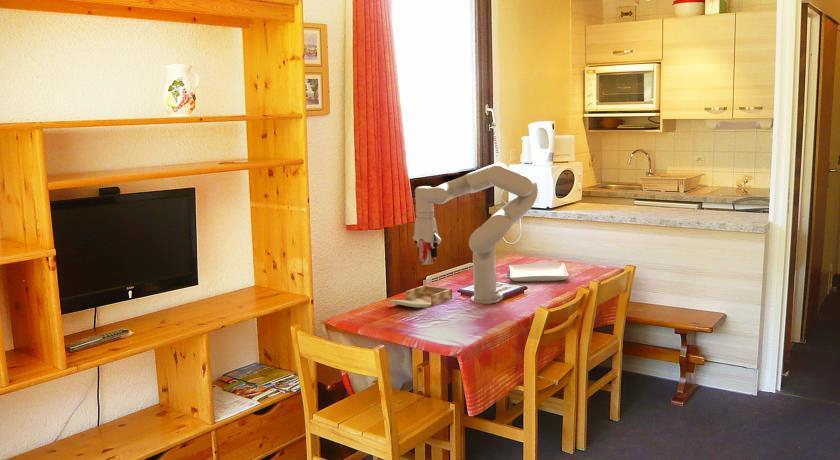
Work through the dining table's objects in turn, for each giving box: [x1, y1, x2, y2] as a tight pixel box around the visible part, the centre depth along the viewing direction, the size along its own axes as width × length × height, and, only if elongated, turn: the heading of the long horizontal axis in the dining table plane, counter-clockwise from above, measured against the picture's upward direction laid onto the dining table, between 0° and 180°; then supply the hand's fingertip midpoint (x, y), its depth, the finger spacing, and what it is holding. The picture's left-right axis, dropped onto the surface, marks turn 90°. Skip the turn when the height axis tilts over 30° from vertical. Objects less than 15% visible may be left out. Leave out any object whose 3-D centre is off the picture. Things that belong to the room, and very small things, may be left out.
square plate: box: [508, 262, 570, 283], centre depth 368 cm, size 27×27×4 cm
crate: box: [405, 284, 453, 307], centre depth 331 cm, size 13×15×5 cm
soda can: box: [418, 237, 437, 266], centre depth 331 cm, size 7×7×12 cm
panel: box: [388, 299, 432, 308], centre depth 322 cm, size 1×14×11 cm
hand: (427, 256), depth 331 cm, fingers closed on soda can, 6 cm apart
